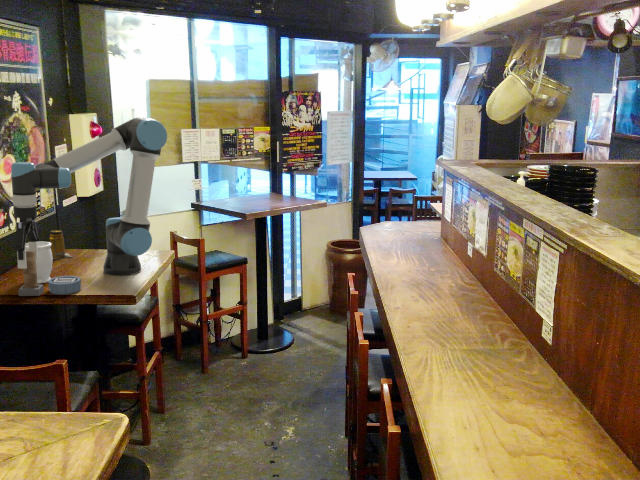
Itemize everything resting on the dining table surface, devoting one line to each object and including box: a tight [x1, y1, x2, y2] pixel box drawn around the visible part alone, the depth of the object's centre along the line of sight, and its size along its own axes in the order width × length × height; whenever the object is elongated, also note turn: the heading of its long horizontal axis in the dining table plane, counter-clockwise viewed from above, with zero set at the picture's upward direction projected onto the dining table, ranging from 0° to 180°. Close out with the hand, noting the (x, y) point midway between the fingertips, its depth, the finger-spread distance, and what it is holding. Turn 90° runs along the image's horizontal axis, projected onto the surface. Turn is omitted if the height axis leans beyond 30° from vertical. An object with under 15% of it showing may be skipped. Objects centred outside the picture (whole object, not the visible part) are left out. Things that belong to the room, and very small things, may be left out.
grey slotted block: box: [18, 284, 45, 297], centre depth 222 cm, size 7×6×2 cm
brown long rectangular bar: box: [22, 251, 39, 288], centre depth 221 cm, size 4×2×16 cm, turn 99°
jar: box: [25, 240, 54, 285], centre depth 236 cm, size 11×10×15 cm
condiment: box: [49, 229, 73, 260], centre depth 273 cm, size 7×8×12 cm
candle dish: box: [47, 275, 82, 296], centre depth 227 cm, size 11×11×4 cm
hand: (28, 263), depth 220 cm, fingers open, 13 cm apart
